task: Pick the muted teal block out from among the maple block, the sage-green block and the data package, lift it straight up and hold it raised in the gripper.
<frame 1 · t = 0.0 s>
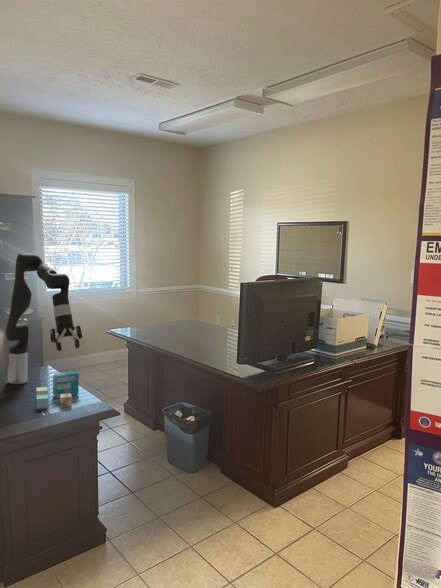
hand: (68, 349, 198), 31 cm above the table, tool tilted 20°, fingers open, 8 cm apart
teal block: (42, 406, 209), on the table
data package: (65, 395, 225), on the table
sage block: (41, 398, 219), on the table
maple block: (65, 405, 213), on the table
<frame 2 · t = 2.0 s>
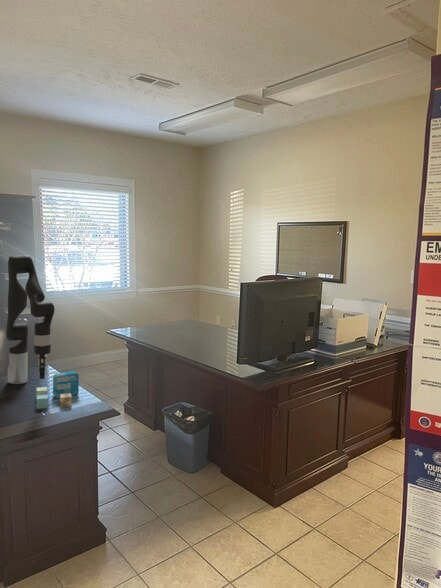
hand: (42, 375, 207), 15 cm above the table, tool pointing down, fingers open, 8 cm apart
nothing on the table moved.
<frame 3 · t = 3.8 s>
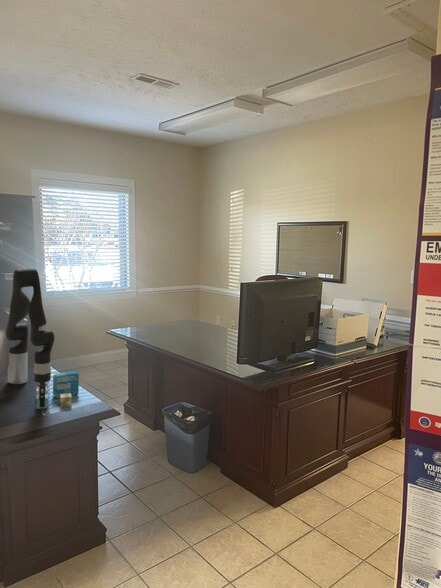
hand: (42, 404, 209), 1 cm above the table, tool pointing down, fingers closed on teal block, 5 cm apart
teal block: (42, 406, 209), on the table, touching gripper
everything else where it was.
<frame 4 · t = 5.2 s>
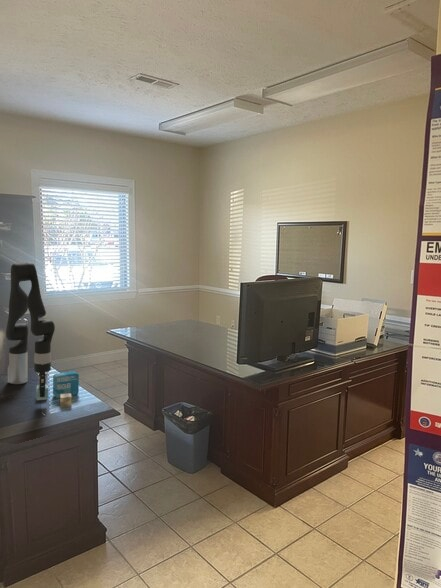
hand: (42, 394, 209), 6 cm above the table, tool pointing down, fingers closed on teal block, 5 cm apart
teal block: (42, 396, 209), point 5 cm above the table, touching gripper
everything else where it was.
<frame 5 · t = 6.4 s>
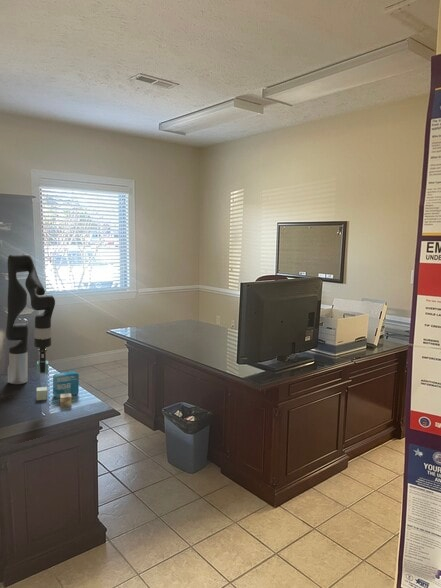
hand: (42, 370, 207), 18 cm above the table, tool pointing down, fingers closed on teal block, 5 cm apart
teal block: (42, 372, 207), point 17 cm above the table, touching gripper
everything else where it was.
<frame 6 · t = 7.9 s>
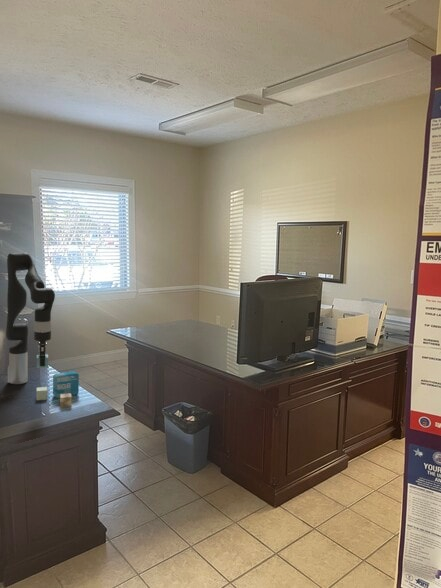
hand: (42, 364, 206), 21 cm above the table, tool pointing down, fingers closed on teal block, 5 cm apart
teal block: (42, 366, 207), point 20 cm above the table, touching gripper
everything else where it was.
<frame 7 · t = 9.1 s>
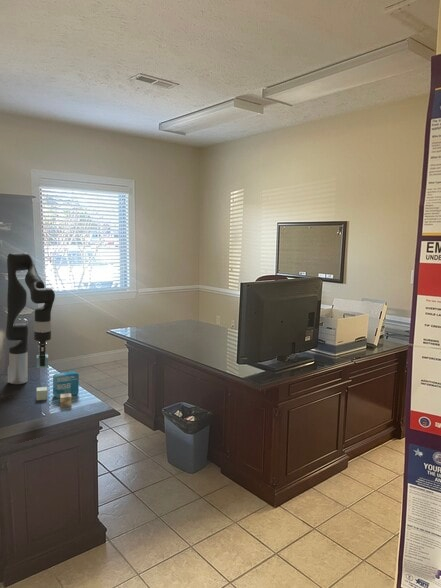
hand: (42, 364, 206), 21 cm above the table, tool pointing down, fingers closed on teal block, 5 cm apart
teal block: (42, 366, 207), point 20 cm above the table, touching gripper
everything else where it was.
at the end: the gripper is holding teal block; teal block point 20.3 cm above the table; sage block moved 0.1 cm from its start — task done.
